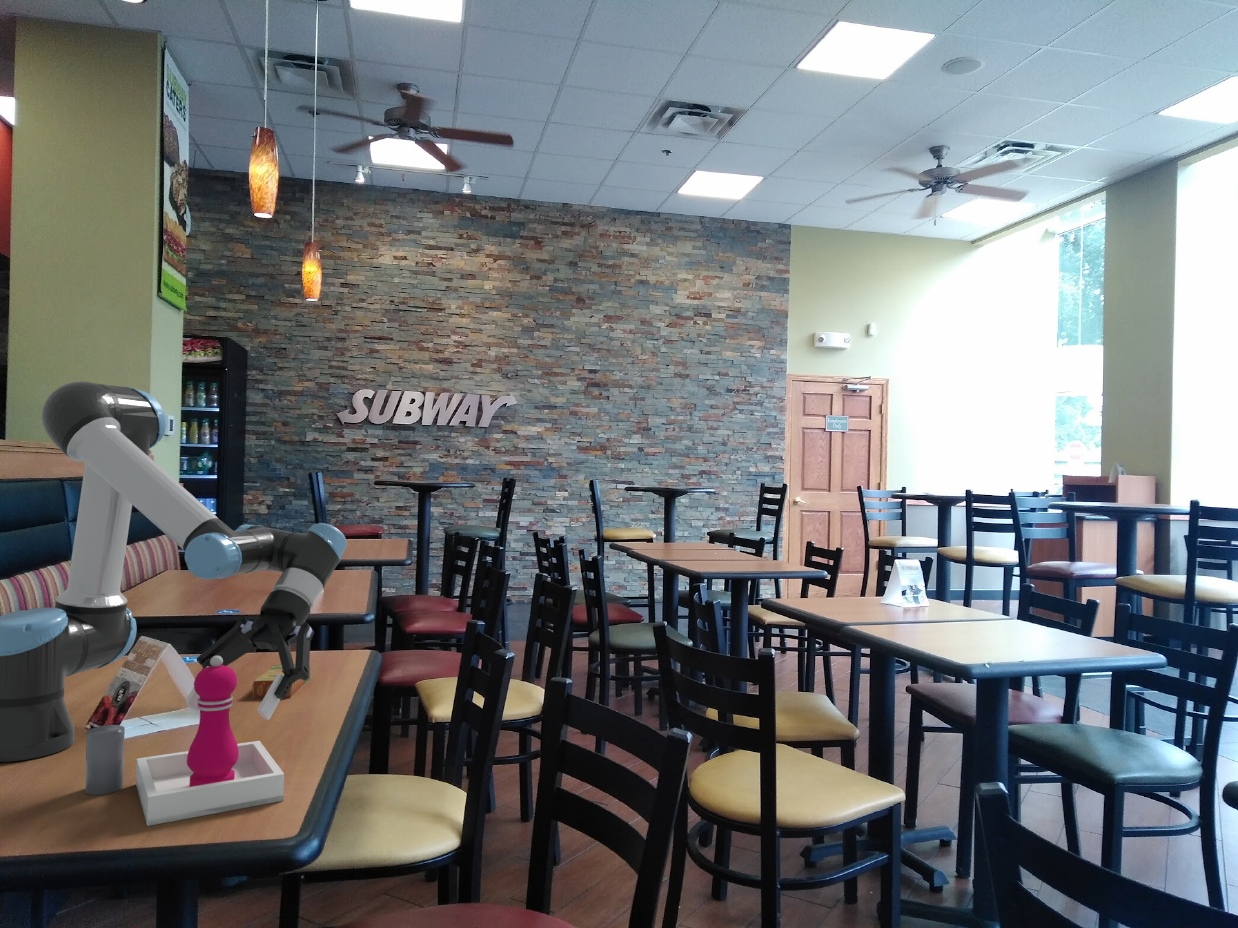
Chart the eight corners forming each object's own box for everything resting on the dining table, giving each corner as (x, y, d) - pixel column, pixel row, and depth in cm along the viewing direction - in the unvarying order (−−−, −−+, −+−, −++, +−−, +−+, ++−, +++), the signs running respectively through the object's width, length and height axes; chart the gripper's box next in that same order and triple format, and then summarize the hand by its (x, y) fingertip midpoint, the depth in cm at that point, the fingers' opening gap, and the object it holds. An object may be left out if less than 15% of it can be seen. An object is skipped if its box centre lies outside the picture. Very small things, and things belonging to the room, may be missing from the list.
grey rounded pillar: (81, 796, 127) (82, 737, 126) (89, 783, 131) (90, 726, 131) (119, 792, 128) (121, 734, 128) (126, 780, 133) (127, 723, 133)
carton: (251, 699, 182) (251, 679, 182) (273, 681, 198) (274, 662, 198) (291, 699, 183) (292, 679, 183) (310, 681, 199) (310, 662, 199)
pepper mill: (223, 795, 126) (228, 661, 126) (176, 793, 127) (180, 659, 127) (246, 777, 134) (250, 651, 134) (201, 775, 134) (205, 649, 134)
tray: (147, 825, 117) (148, 796, 117) (135, 784, 132) (136, 758, 132) (283, 800, 127) (284, 773, 127) (258, 764, 142) (259, 740, 142)
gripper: (362, 618, 146) (304, 731, 131) (241, 608, 153) (174, 714, 138) (345, 592, 141) (283, 706, 126) (221, 583, 148) (149, 690, 133)
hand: (226, 710), depth 132 cm, fingers open, 13 cm apart
